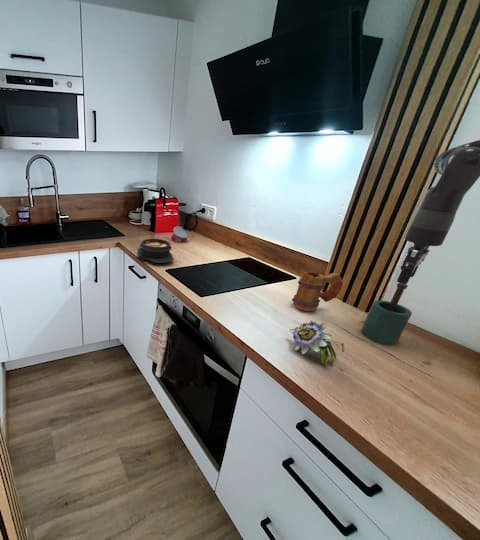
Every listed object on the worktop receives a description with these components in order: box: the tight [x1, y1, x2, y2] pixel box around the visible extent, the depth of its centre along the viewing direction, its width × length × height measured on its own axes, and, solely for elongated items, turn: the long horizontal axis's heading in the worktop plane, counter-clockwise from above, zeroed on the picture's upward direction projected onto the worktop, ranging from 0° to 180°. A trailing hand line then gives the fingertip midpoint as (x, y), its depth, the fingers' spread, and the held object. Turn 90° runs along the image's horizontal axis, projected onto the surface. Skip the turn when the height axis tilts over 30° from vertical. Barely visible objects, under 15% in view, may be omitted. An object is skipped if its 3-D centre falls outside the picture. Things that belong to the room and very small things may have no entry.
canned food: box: [170, 225, 188, 244], centre depth 183 cm, size 11×10×10 cm
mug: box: [291, 270, 344, 312], centre depth 105 cm, size 15×8×15 cm, turn 80°
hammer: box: [387, 282, 409, 312], centre depth 89 cm, size 4×4×18 cm
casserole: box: [137, 238, 174, 264], centre depth 152 cm, size 25×19×8 cm
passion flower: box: [289, 320, 346, 366], centre depth 83 cm, size 11×11×12 cm
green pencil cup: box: [360, 299, 413, 346], centre depth 91 cm, size 9×9×11 cm
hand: (405, 279), depth 85 cm, fingers open, 8 cm apart
